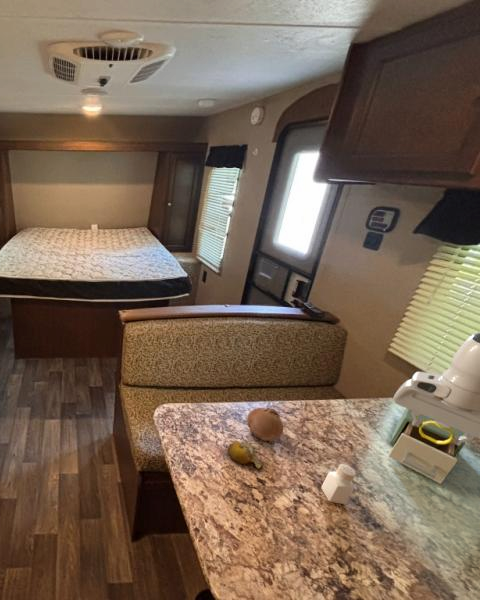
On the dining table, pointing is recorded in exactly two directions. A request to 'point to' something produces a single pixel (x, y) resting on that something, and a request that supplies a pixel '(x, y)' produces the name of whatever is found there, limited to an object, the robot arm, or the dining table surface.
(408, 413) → the cabinet
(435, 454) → the drawer
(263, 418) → the onion
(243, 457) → the fruit
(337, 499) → the salt shaker
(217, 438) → the dining table surface
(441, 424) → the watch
